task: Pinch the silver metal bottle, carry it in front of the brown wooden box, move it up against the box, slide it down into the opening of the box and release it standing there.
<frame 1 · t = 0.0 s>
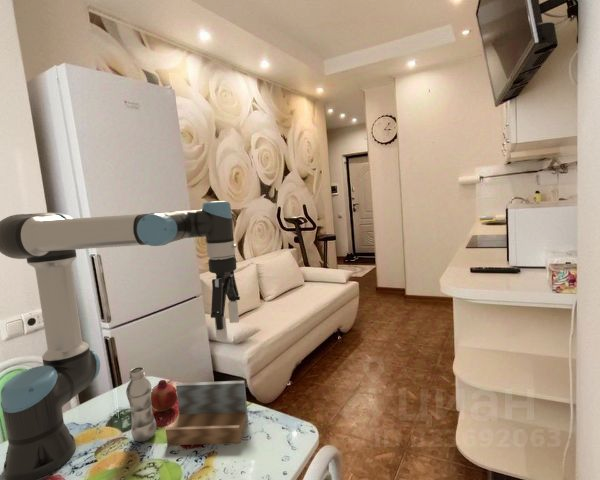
hand: (228, 330, 99), 28 cm above the table, fingers open, 13 cm apart
fruit: (165, 410, 111), on the table
brown wooden box: (209, 431, 99), on the table
silver metal bottle: (145, 437, 98), on the table
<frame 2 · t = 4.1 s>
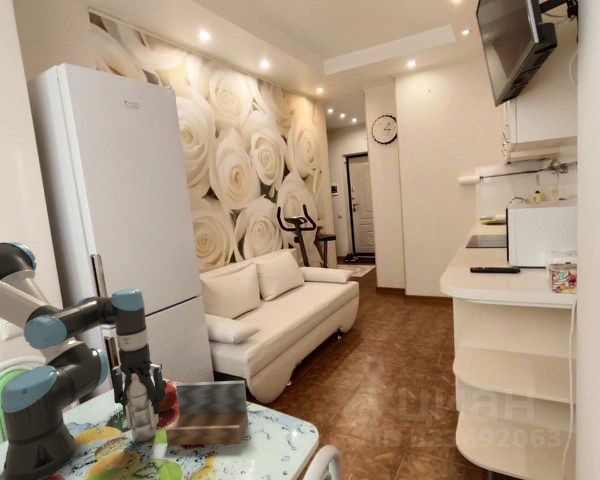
hand: (143, 424, 98), 4 cm above the table, fingers closed on silver metal bottle, 6 cm apart
silver metal bottle: (145, 437, 98), on the table, touching gripper
everything else where it was.
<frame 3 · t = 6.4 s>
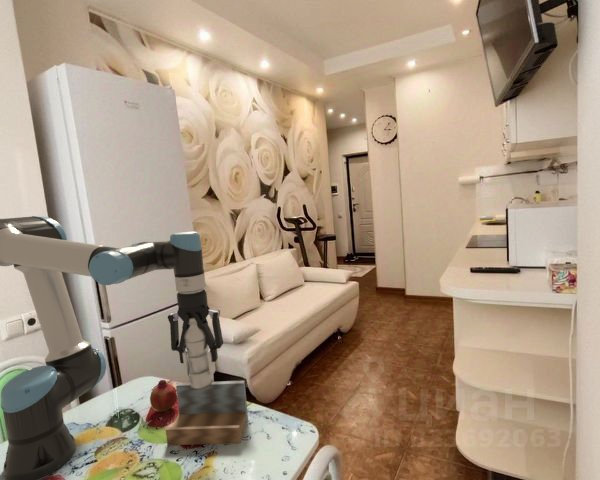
hand: (200, 373, 95), 19 cm above the table, fingers closed on silver metal bottle, 6 cm apart
silver metal bottle: (202, 387, 95), point 15 cm above the table, touching gripper
everything else where it was.
when the fingers open (8 cm above the table, at t = 9.0 s): silver metal bottle stays where it is, resting on brown wooden box.
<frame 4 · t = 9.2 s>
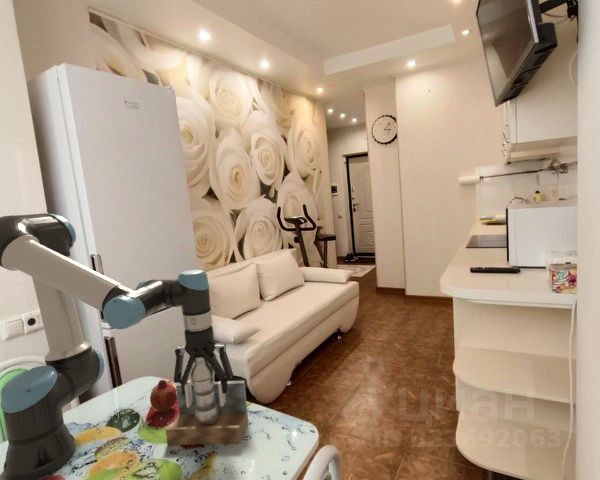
hand: (206, 404, 98), 8 cm above the table, fingers open, 9 cm apart
silver metal bottle: (208, 422, 99), point 3 cm above the table, touching brown wooden box
everything else where it was.
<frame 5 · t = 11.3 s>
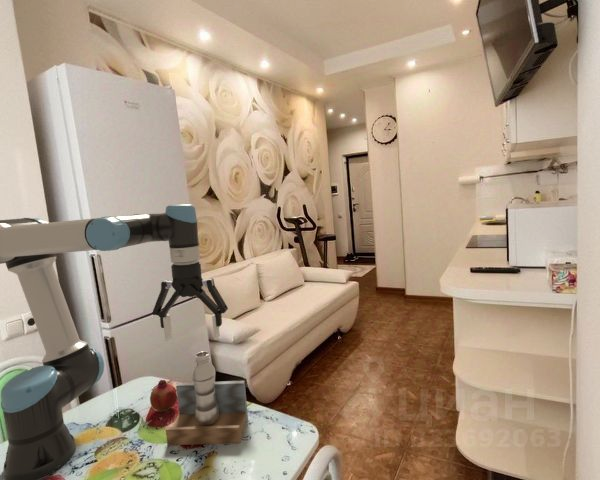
hand: (192, 338, 96), 28 cm above the table, fingers open, 13 cm apart
nothing on the table moved.
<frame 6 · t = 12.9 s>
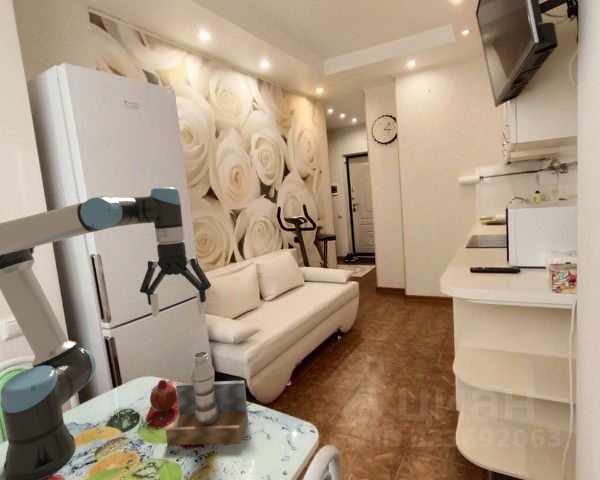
hand: (178, 314, 102), 33 cm above the table, fingers open, 13 cm apart
nothing on the table moved.
at the end: silver metal bottle inside the target area on the brown wooden box (0.3 cm from its centre), point 2.8 cm above the brown wooden box's base; silver metal bottle tilted 0°; the gripper is holding nothing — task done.
